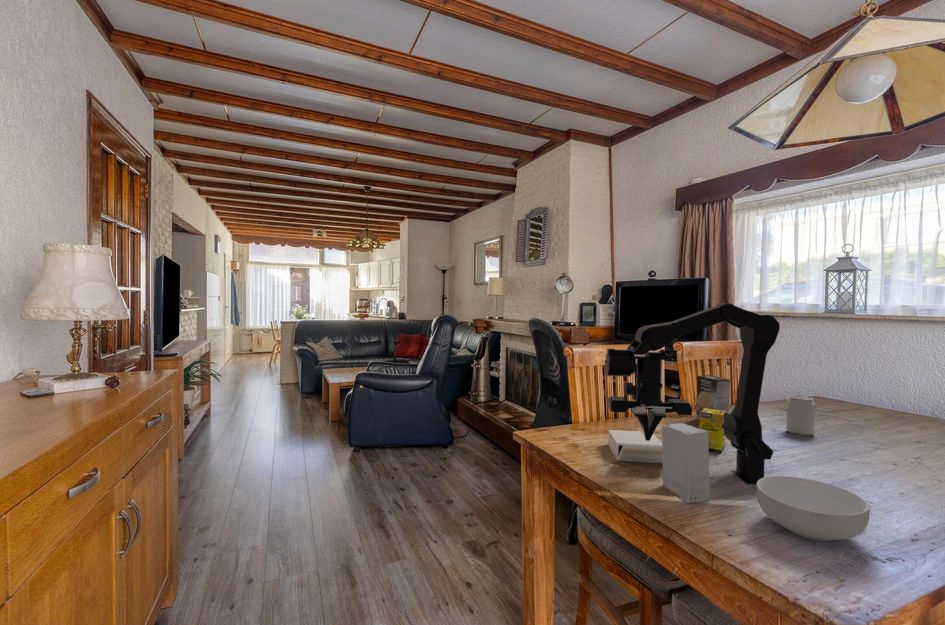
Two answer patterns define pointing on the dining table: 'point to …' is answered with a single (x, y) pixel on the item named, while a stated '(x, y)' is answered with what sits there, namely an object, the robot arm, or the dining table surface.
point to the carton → (629, 440)
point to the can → (801, 415)
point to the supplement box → (713, 428)
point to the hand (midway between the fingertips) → (647, 440)
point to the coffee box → (712, 394)
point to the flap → (641, 454)
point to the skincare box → (686, 462)
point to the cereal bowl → (812, 507)
